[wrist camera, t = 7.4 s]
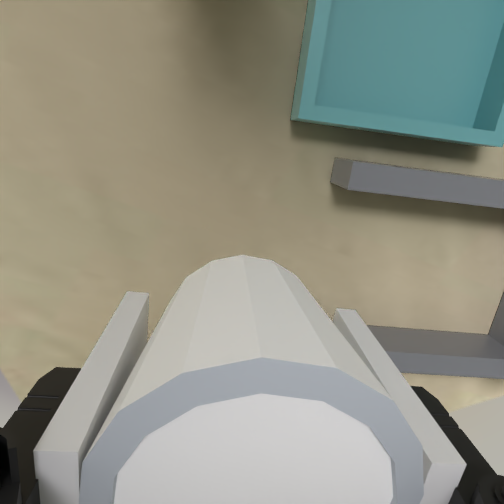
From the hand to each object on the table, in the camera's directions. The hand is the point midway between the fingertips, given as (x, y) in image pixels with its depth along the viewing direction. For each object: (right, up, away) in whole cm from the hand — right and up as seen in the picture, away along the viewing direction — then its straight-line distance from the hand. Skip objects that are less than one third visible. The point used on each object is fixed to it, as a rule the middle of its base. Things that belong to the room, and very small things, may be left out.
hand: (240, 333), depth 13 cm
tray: (+10, +17, +8) cm, 21 cm away
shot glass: (0, 0, +1) cm, 1 cm away
